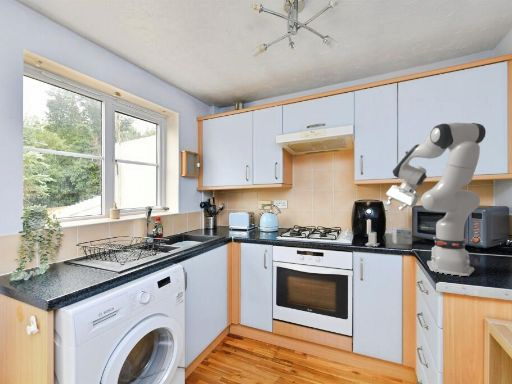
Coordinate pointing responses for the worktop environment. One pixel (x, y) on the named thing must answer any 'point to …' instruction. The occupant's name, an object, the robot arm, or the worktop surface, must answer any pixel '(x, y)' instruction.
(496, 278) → the worktop surface
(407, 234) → the light bulb box
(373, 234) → the grey module
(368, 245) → the mounting pad
